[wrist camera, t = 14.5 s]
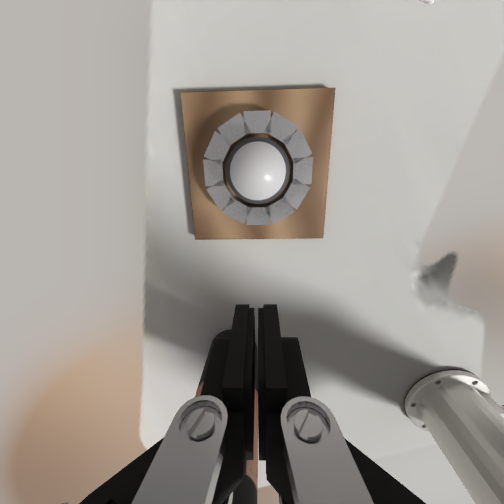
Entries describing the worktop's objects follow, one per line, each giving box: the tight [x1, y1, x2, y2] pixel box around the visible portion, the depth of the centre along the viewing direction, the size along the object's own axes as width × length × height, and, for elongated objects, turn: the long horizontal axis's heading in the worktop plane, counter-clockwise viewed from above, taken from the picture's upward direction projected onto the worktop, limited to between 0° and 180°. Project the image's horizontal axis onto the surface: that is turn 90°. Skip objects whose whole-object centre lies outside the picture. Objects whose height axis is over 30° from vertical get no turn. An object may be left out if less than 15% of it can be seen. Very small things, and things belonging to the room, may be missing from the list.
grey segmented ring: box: [203, 110, 313, 225], centre depth 27 cm, size 12×12×2 cm
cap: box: [226, 137, 290, 204], centre depth 25 cm, size 6×6×5 cm
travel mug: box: [195, 330, 258, 504], centre depth 28 cm, size 8×8×20 cm
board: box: [181, 88, 335, 240], centre depth 28 cm, size 16×16×1 cm
